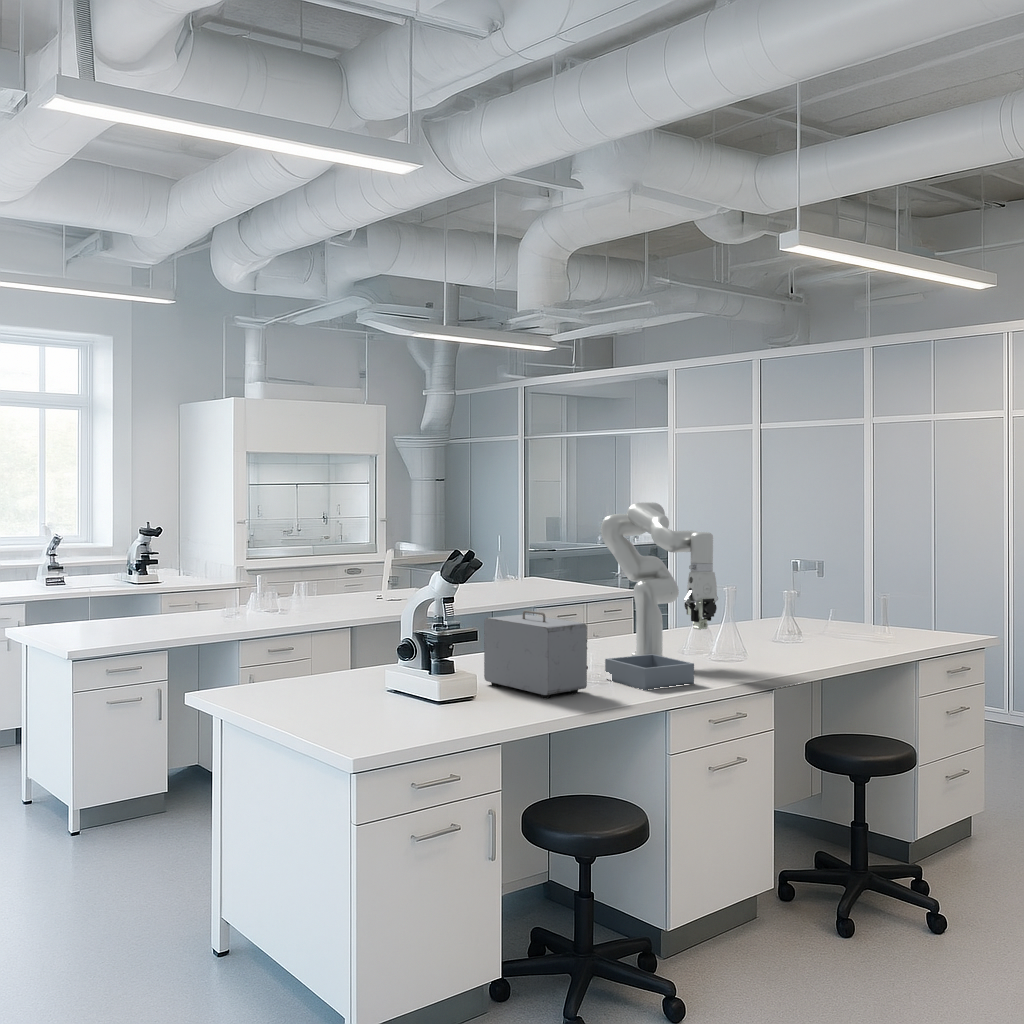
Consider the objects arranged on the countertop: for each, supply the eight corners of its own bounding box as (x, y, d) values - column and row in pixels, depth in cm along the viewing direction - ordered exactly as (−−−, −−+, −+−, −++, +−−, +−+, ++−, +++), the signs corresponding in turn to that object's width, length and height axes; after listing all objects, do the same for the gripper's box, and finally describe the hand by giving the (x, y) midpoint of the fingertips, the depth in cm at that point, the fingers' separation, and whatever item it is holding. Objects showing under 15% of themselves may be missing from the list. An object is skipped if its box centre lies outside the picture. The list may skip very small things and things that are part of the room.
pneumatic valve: (706, 631, 329) (706, 596, 329) (683, 627, 340) (684, 592, 339) (718, 630, 332) (719, 595, 332) (696, 626, 342) (696, 592, 342)
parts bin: (605, 679, 330) (605, 658, 329) (652, 674, 339) (652, 654, 339) (645, 690, 310) (645, 668, 310) (694, 684, 320) (694, 663, 320)
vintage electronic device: (591, 692, 307) (591, 613, 307) (548, 700, 296) (548, 618, 296) (526, 678, 332) (526, 604, 332) (484, 684, 321) (484, 608, 320)
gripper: (690, 569, 328) (689, 624, 328) (727, 567, 337) (727, 620, 337) (675, 568, 334) (674, 621, 334) (712, 566, 343) (711, 618, 343)
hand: (701, 620), depth 336 cm, fingers closed on pneumatic valve, 5 cm apart
